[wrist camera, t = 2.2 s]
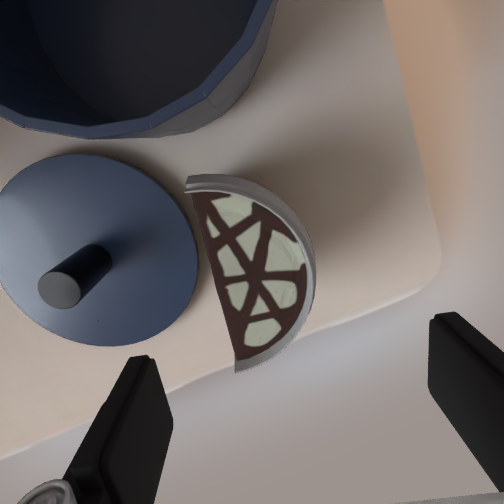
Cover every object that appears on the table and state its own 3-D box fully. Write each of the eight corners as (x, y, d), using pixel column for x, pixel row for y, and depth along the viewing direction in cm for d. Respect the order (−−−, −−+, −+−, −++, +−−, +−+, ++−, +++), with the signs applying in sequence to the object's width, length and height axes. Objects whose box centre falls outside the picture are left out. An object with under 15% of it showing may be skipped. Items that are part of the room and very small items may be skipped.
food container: (306, 288, 29) (336, 362, 20) (238, 302, 29) (236, 380, 20) (282, 146, 25) (306, 154, 16) (204, 163, 25) (181, 180, 16)
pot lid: (42, 350, 31) (-10, 406, 24) (-38, 171, 25) (-132, 184, 19) (216, 324, 30) (209, 374, 24) (174, 136, 25) (150, 137, 18)
